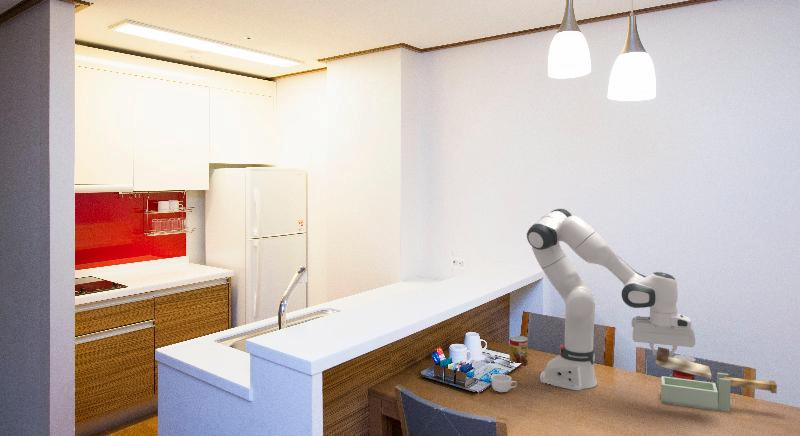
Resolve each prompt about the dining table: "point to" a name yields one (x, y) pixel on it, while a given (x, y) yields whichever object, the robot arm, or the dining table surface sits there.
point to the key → (754, 384)
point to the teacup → (502, 382)
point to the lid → (681, 364)
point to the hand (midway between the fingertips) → (663, 355)
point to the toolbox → (697, 393)
